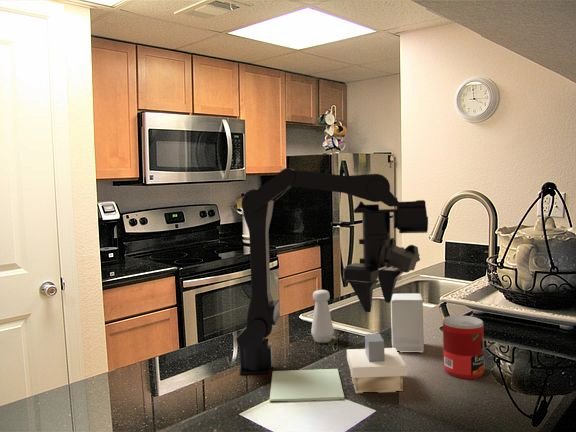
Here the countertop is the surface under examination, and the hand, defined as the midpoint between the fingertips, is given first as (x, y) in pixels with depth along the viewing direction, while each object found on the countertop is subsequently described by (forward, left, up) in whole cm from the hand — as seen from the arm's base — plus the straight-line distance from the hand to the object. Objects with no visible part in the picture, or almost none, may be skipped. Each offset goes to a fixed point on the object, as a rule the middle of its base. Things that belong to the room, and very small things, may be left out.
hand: (378, 307), depth 104 cm
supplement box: (+9, +14, -14) cm, 22 cm away
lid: (-2, -6, -10) cm, 12 cm away
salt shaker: (-11, +22, -14) cm, 28 cm away
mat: (-16, -6, -14) cm, 22 cm away
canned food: (+17, -2, -14) cm, 22 cm away
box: (-2, -6, -14) cm, 15 cm away
